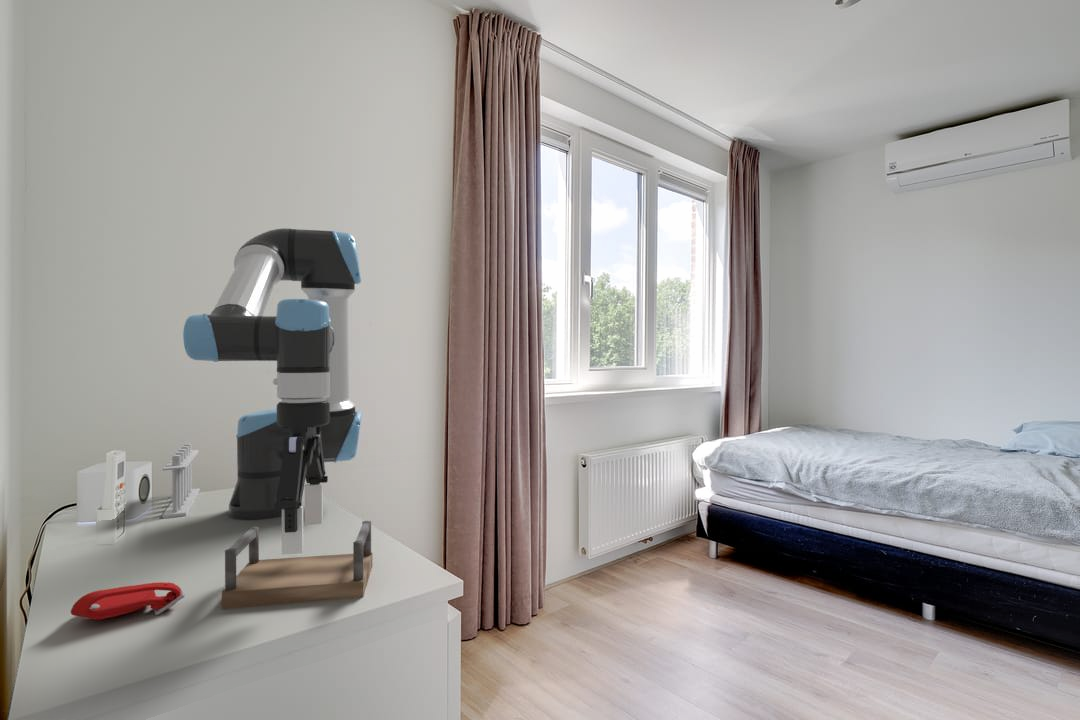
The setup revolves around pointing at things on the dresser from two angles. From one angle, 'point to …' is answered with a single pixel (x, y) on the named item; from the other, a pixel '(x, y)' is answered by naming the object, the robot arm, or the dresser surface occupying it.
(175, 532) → the dresser surface
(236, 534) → the dresser surface
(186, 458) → the test tube rack
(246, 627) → the dresser surface
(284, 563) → the wooden serving tray
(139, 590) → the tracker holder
